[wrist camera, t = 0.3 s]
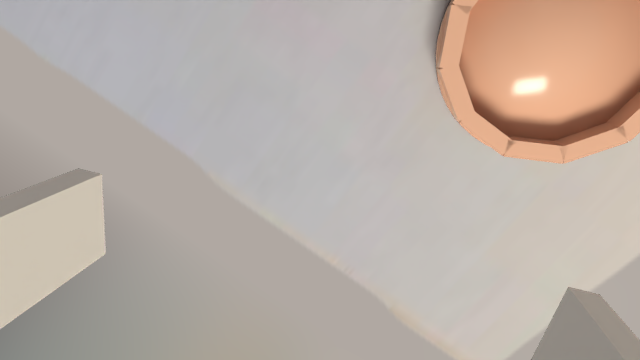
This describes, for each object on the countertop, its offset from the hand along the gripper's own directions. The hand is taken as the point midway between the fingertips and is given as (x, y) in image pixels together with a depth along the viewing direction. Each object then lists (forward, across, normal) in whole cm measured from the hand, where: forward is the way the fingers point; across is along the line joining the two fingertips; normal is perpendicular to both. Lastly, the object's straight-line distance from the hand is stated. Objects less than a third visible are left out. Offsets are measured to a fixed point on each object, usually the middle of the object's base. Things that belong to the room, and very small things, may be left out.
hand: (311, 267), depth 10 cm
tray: (+27, +14, +9) cm, 32 cm away
